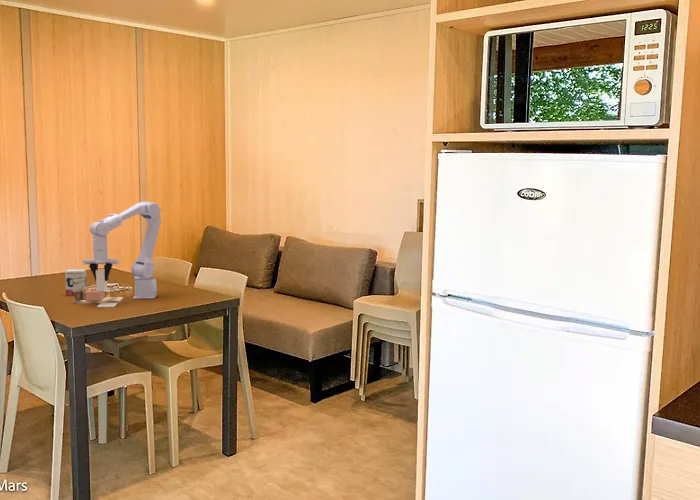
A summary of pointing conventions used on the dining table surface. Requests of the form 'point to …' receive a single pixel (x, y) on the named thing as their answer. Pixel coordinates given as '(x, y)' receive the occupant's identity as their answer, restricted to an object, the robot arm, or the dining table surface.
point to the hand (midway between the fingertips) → (101, 280)
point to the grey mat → (107, 305)
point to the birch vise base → (81, 298)
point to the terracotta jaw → (94, 295)
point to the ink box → (75, 280)
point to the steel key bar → (101, 280)
